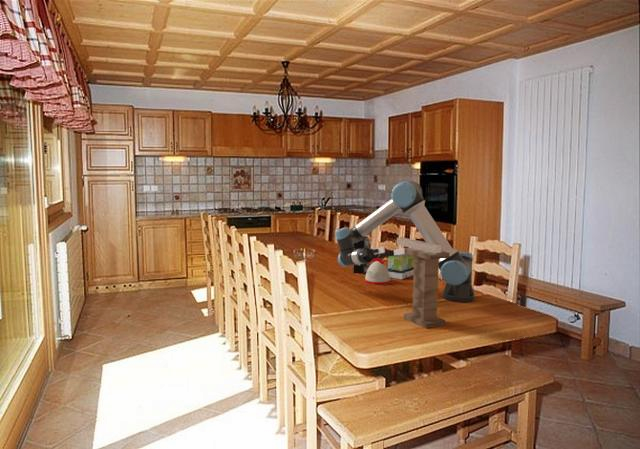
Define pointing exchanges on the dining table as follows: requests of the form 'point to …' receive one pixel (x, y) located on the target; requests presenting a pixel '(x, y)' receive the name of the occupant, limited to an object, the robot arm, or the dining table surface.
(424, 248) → the aluminium bar
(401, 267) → the tea box
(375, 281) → the kitchen timer
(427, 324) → the walnut pedestal
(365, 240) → the electrical component
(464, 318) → the dining table surface
